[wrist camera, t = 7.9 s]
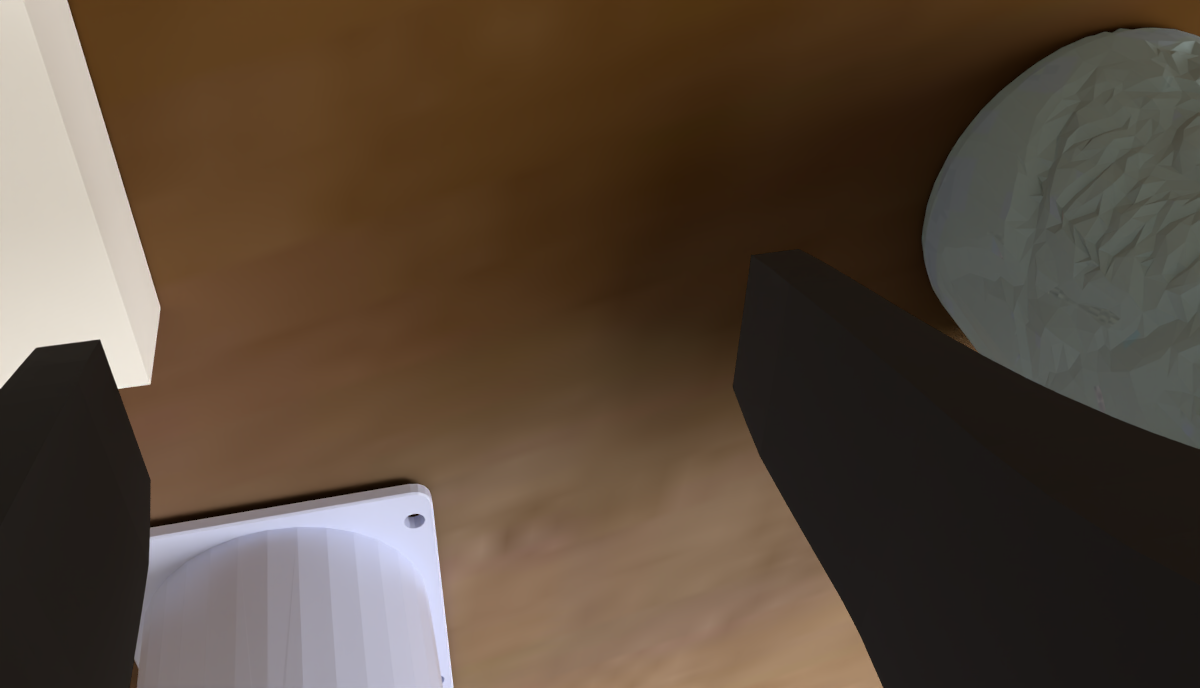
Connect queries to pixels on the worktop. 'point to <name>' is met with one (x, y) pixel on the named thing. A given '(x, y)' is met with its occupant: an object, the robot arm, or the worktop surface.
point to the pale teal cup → (1083, 228)
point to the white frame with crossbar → (64, 206)
